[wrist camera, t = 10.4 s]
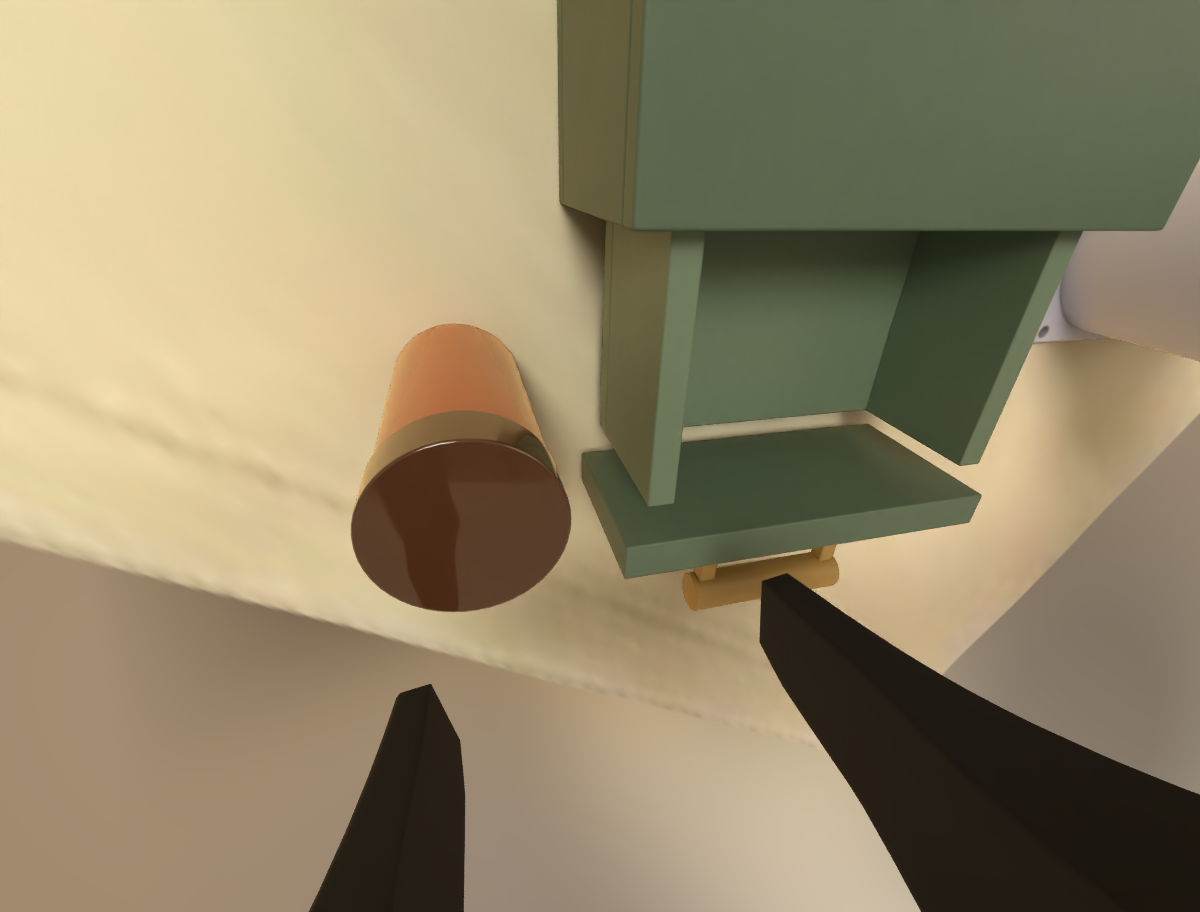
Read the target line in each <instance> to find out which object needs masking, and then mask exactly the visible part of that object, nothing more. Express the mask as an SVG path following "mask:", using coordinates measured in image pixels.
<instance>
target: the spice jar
mask: <svg viewBox="0 0 1200 912" xmlns="http://www.w3.org/2000/svg"><path fill="white" fill-rule="evenodd" d="M570 529H571V509H570V504H569V500H568V497H567V494H566V491H565V488H564V486H563V483H562V480H561V477H560V475H559V472H558V469H557V466H556V464H555V462H554V459H553V457H552V456H551V454H550V452H549V451H548V449H547V448H546V446H545V445H544V442H543V439H542V436H541V433H540V430H539V427H538V425H537V422H536V419H535V416H534V413H533V410H532V407H531V404H530V402H529V399H528V396H527V393H526V390H525V387H524V384H523V381H522V378H521V376H520V373H519V370H518V367H517V364H516V362H515V360H514V358H513V356H512V354H511V353H510V351H509V350H508V349H507V347H506V346H505V345H504V344H503V343H502V342H501V341H500V340H499V339H497V338H496V337H495V336H493V335H492V334H490V333H488V332H486V331H484V330H482V329H479V328H477V327H473V326H470V325H463V324H446V325H440V326H436V327H433V328H430V329H428V330H425V331H424V332H422V333H420V334H418V335H417V336H416V337H414V338H413V339H412V340H411V341H410V342H409V343H408V344H407V345H406V346H405V347H404V349H403V350H402V351H401V353H400V355H399V357H398V359H397V362H396V365H395V368H394V372H393V376H392V380H391V384H390V388H389V392H388V397H387V401H386V405H385V409H384V413H383V417H382V421H381V425H380V429H379V433H378V437H377V441H376V445H375V449H374V453H373V455H372V457H371V459H370V460H369V462H368V464H367V466H366V468H365V471H364V474H363V477H362V480H361V484H360V488H359V491H358V495H357V499H356V503H355V507H354V510H353V515H352V521H351V540H352V545H353V550H354V552H355V555H356V558H357V560H358V562H359V564H360V565H361V567H362V569H363V571H364V572H365V573H366V574H367V576H368V577H369V578H370V579H371V580H372V581H373V582H374V583H375V584H376V585H377V586H378V587H379V588H380V589H382V590H383V591H385V592H386V593H387V594H389V595H390V596H392V597H394V598H396V599H398V600H400V601H402V602H405V603H407V604H410V605H412V606H416V607H419V608H423V609H427V610H433V611H442V612H466V611H475V610H480V609H485V608H490V607H493V606H496V605H499V604H502V603H505V602H507V601H509V600H512V599H514V598H516V597H518V596H520V595H521V594H523V593H525V592H527V591H528V590H529V589H531V588H532V587H534V586H535V585H536V584H538V583H539V582H540V581H541V580H542V579H543V578H544V577H545V576H546V575H547V574H548V573H549V572H550V571H551V570H552V569H553V567H554V566H555V565H556V563H557V562H558V561H559V559H560V557H561V555H562V553H563V552H564V549H565V547H566V544H567V542H568V538H569V534H570Z"/></svg>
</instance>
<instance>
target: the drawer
mask: <svg viewBox="0 0 1200 912" xmlns="http://www.w3.org/2000/svg"><path fill="white" fill-rule="evenodd" d="M1082 232H1083V231H633V230H630V229H628V228H625V227H622V226H619V225H617V224H614V223H611V222H609V221H606V242H605V276H604V310H603V344H602V378H601V412H600V425H601V427H602V429H603V430H604V432H605V434H606V435H607V437H608V439H609V440H610V442H611V444H612V445H613V447H614V449H615V450H608V451H598V452H588V453H583V454H582V480H583V483H584V485H585V487H586V490H587V492H588V494H589V497H590V499H591V501H592V504H593V506H594V508H595V511H596V513H597V515H598V518H599V520H600V522H601V525H602V527H603V529H604V532H605V534H606V536H607V539H608V541H609V543H610V546H611V548H612V551H613V553H614V555H615V558H616V560H617V562H618V565H619V567H620V569H621V572H622V574H623V576H624V578H625V579H629V578H635V577H641V576H647V575H653V574H659V573H665V572H671V571H678V570H684V569H690V568H694V572H688V573H686V574H684V576H683V593H684V597H685V600H686V602H687V604H688V606H689V608H690V609H691V610H694V611H696V610H702V609H707V608H712V607H718V606H723V605H729V604H734V603H739V602H745V601H750V600H756V599H761V586H762V581H763V580H766V579H769V578H772V577H776V576H779V575H782V574H785V573H788V574H789V575H791V576H792V577H794V578H795V579H797V580H798V581H800V582H801V583H802V584H804V585H805V586H807V587H808V588H809V589H815V588H820V587H826V586H831V585H834V584H835V583H836V582H837V581H838V578H839V568H838V564H837V562H836V560H835V558H834V557H833V554H834V551H835V548H836V545H837V544H842V543H848V542H854V541H860V540H866V539H872V538H878V537H885V536H891V535H897V534H903V533H909V532H915V531H921V530H927V529H933V528H939V527H945V526H952V525H958V524H964V523H969V522H970V520H971V518H972V516H973V513H974V511H975V509H976V507H977V505H978V503H979V501H980V499H981V496H982V495H981V494H980V493H978V492H976V491H975V490H973V489H971V488H970V487H968V486H967V485H965V484H963V483H962V482H960V481H959V480H957V479H955V478H954V477H952V476H951V475H949V474H947V473H946V472H944V471H943V470H941V469H939V468H938V467H936V466H935V465H933V464H931V463H930V462H928V461H927V460H925V459H923V458H922V457H920V456H919V455H917V454H915V453H914V452H912V451H911V450H909V449H907V448H906V447H904V446H903V445H901V444H899V443H898V442H896V441H895V440H893V439H891V438H890V437H888V436H887V435H885V434H883V433H882V432H880V431H879V430H877V429H875V428H874V427H872V426H871V425H869V424H860V425H851V426H841V427H831V428H821V429H812V430H802V431H792V432H783V433H773V434H763V435H753V436H744V437H734V438H724V439H715V440H705V441H695V442H685V443H681V439H682V431H683V427H688V426H699V425H709V424H720V423H730V422H741V421H751V420H762V419H772V418H783V417H793V416H804V415H814V414H825V413H835V412H846V411H856V410H866V411H868V412H870V413H872V414H873V415H875V416H877V417H878V418H880V419H882V420H883V421H885V422H887V423H888V424H890V425H892V426H893V427H895V428H897V429H898V430H900V431H902V432H903V433H905V434H907V435H909V436H910V437H912V438H914V439H915V440H917V441H919V442H920V443H922V444H924V445H925V446H927V447H929V448H930V449H932V450H934V451H935V452H937V453H939V454H940V455H942V456H944V457H946V458H947V459H949V460H951V461H952V462H954V463H956V464H957V465H959V466H963V465H971V464H978V463H979V461H980V459H981V457H982V455H983V452H984V450H985V448H986V446H987V444H988V441H989V439H990V437H991V435H992V432H993V430H994V428H995V426H996V424H997V421H998V419H999V417H1000V415H1001V412H1002V410H1003V408H1004V406H1005V404H1006V401H1007V399H1008V397H1009V395H1010V392H1011V390H1012V388H1013V386H1014V384H1015V381H1016V379H1017V377H1018V375H1019V372H1020V370H1021V368H1022V366H1023V364H1024V361H1025V359H1026V357H1027V355H1028V352H1029V350H1030V348H1031V346H1032V344H1033V341H1034V339H1035V337H1036V335H1037V332H1038V330H1039V328H1040V326H1041V324H1042V321H1043V319H1044V317H1045V315H1046V312H1047V310H1048V308H1049V306H1050V304H1051V301H1052V299H1053V297H1054V295H1055V292H1056V290H1057V288H1058V286H1059V284H1060V281H1061V279H1062V277H1063V275H1064V272H1065V270H1066V268H1067V266H1068V264H1069V261H1070V259H1071V257H1072V255H1073V252H1074V250H1075V248H1076V246H1077V243H1078V241H1079V239H1080V237H1081V235H1082ZM805 549H812V550H811V552H808V553H802V554H796V555H790V556H784V557H778V558H772V559H766V560H760V561H754V562H748V563H742V564H736V565H730V566H724V567H718V568H716V567H717V564H720V563H726V562H732V561H738V560H745V559H751V558H757V557H763V556H769V555H775V554H781V553H787V552H793V551H799V550H805Z"/></svg>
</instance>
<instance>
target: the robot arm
mask: <svg viewBox="0 0 1200 912" xmlns="http://www.w3.org/2000/svg"><path fill="white" fill-rule="evenodd" d="M1100 338H1114V339H1118V340H1121V341H1125V342H1129V343H1133V344H1136V345H1140V346H1144V347H1148V348H1151V349H1155V350H1159V351H1163V352H1166V353H1170V354H1174V355H1178V356H1181V357H1185V358H1189V359H1193V360H1196V361H1200V160H1199V162H1198V163H1197V165H1196V167H1195V169H1194V171H1193V173H1192V175H1191V177H1190V179H1189V181H1188V183H1187V185H1186V187H1185V188H1184V190H1183V192H1182V194H1181V196H1180V198H1179V200H1178V202H1177V204H1176V206H1175V208H1174V210H1173V212H1172V213H1171V215H1170V217H1169V219H1168V221H1167V223H1166V225H1165V227H1164V228H1163V229H1162V230H1160V231H1083V232H1082V235H1081V237H1080V239H1079V241H1078V243H1077V246H1076V248H1075V250H1074V252H1073V255H1072V257H1071V259H1070V261H1069V264H1068V266H1067V268H1066V270H1065V272H1064V275H1063V277H1062V279H1061V281H1060V284H1059V286H1058V288H1057V290H1056V292H1055V295H1054V297H1053V299H1052V301H1051V304H1050V306H1049V308H1048V310H1047V312H1046V315H1045V317H1044V319H1043V321H1042V324H1041V326H1040V328H1039V330H1038V332H1037V335H1036V337H1035V339H1034V341H1033V343H1039V342H1054V341H1070V340H1085V339H1100ZM760 644H761V646H762V648H763V650H764V652H765V654H766V656H767V658H768V660H769V661H770V663H771V665H772V667H773V669H774V671H775V673H776V675H777V677H778V678H779V680H780V682H781V684H782V686H783V687H784V689H785V690H786V692H787V693H788V695H789V696H790V698H791V699H792V701H793V702H794V704H795V705H796V707H797V708H798V710H799V711H800V713H801V714H802V716H803V717H804V719H805V720H806V722H807V723H808V725H809V726H810V728H811V729H812V731H813V732H814V734H815V735H816V737H817V738H818V739H819V741H820V742H821V744H822V745H823V747H824V748H825V750H826V751H827V753H828V754H829V756H830V757H831V759H832V760H833V761H834V763H835V764H836V766H837V767H838V769H839V770H840V772H841V773H842V775H843V776H844V778H845V779H846V781H847V782H848V784H849V785H850V787H851V788H852V790H853V792H854V793H855V795H856V796H857V798H858V799H859V801H860V803H861V804H862V806H863V807H864V809H865V811H866V813H867V814H868V816H869V818H870V820H871V821H872V823H873V825H874V827H875V828H876V830H877V832H878V834H879V836H880V837H881V839H882V841H883V843H884V844H885V846H886V848H887V850H888V852H889V853H890V855H891V857H892V859H893V861H894V862H895V864H896V866H897V868H898V870H899V872H900V873H901V875H902V877H903V879H904V881H905V883H906V885H907V886H908V888H909V890H910V892H911V894H912V896H913V897H914V899H915V901H916V903H917V905H918V907H919V909H920V910H921V912H1200V795H1199V794H1197V793H1194V792H1191V791H1189V790H1186V789H1183V788H1181V787H1178V786H1176V785H1173V784H1171V783H1168V782H1166V781H1163V780H1161V779H1158V778H1156V777H1153V776H1151V775H1148V774H1146V773H1144V772H1141V771H1139V770H1136V769H1134V768H1131V767H1129V766H1127V765H1124V764H1122V763H1119V762H1117V761H1115V760H1112V759H1110V758H1108V757H1105V756H1103V755H1101V754H1098V753H1096V752H1094V751H1092V750H1090V749H1088V748H1085V747H1083V746H1081V745H1079V744H1077V743H1074V742H1072V741H1070V740H1068V739H1065V738H1063V737H1061V736H1059V735H1057V734H1055V733H1052V732H1050V731H1048V730H1046V729H1044V728H1041V727H1039V726H1037V725H1035V724H1033V723H1031V722H1029V721H1026V720H1025V719H1023V718H1021V717H1019V716H1017V715H1015V714H1013V713H1011V712H1009V711H1007V710H1005V709H1003V708H1001V707H999V706H997V705H995V704H993V703H991V702H989V701H988V700H986V699H984V698H982V697H980V696H978V695H976V694H974V693H972V692H971V691H969V690H967V689H965V688H963V687H962V686H960V685H958V684H956V683H955V682H953V681H951V680H949V679H947V678H946V677H944V676H942V675H941V674H939V673H937V672H936V671H934V670H932V669H931V668H929V667H927V666H926V665H924V664H922V663H921V662H919V661H917V660H916V659H914V658H912V657H911V656H909V655H907V654H906V653H904V652H903V651H901V650H899V649H898V648H896V647H895V646H893V645H892V644H890V643H889V642H887V641H885V640H884V639H882V638H881V637H879V636H878V635H876V634H875V633H873V632H872V631H870V630H869V629H867V628H866V627H864V626H863V625H861V624H860V623H858V622H857V621H855V620H854V619H852V618H851V617H849V616H848V615H846V614H845V613H844V612H842V611H841V610H839V609H838V608H836V607H835V606H833V605H832V604H831V603H829V602H828V601H826V600H825V599H824V598H822V597H821V596H819V595H818V594H816V593H815V592H814V591H812V590H811V589H809V588H808V587H807V586H805V585H804V584H802V583H801V582H800V581H798V580H797V579H795V578H794V577H792V576H791V575H789V574H788V573H785V574H782V575H779V576H776V577H772V578H769V579H766V580H763V581H762V586H761V615H760ZM464 853H465V789H464V776H463V765H462V755H461V744H460V739H459V737H458V736H457V734H456V732H455V730H454V728H453V726H452V724H451V722H450V720H449V718H448V716H447V714H446V712H445V710H444V708H443V706H442V704H441V702H440V700H439V699H438V697H437V695H436V693H435V691H434V689H433V687H432V685H431V684H429V685H425V686H422V687H419V688H415V689H412V690H409V691H406V692H403V693H400V694H399V695H398V697H397V698H396V701H395V704H394V707H393V710H392V713H391V716H390V718H389V721H388V724H387V727H386V730H385V733H384V736H383V739H382V741H381V744H380V747H379V749H378V752H377V755H376V758H375V760H374V763H373V765H372V768H371V771H370V773H369V776H368V778H367V781H366V783H365V786H364V789H363V791H362V793H361V796H360V798H359V801H358V803H357V805H356V808H355V810H354V813H353V815H352V818H351V820H350V823H349V825H348V827H347V830H346V832H345V834H344V837H343V839H342V841H341V843H340V845H339V848H338V850H337V852H336V854H335V857H334V859H333V861H332V863H331V865H330V868H329V870H328V872H327V874H326V876H325V879H324V881H323V883H322V885H321V887H320V890H319V892H318V894H317V896H316V898H315V900H314V902H313V904H312V906H311V908H310V910H309V912H464Z"/></svg>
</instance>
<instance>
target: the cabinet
mask: <svg viewBox="0 0 1200 912" xmlns="http://www.w3.org/2000/svg"><path fill="white" fill-rule="evenodd" d="M557 24H558V114H559V201H560V203H561V204H564V205H566V206H569V207H571V208H574V209H577V210H579V211H582V212H585V213H587V214H590V215H593V216H595V217H598V218H601V219H603V220H606V221H609V222H611V223H614V224H617V225H619V226H622V227H625V228H628V229H630V230H633V231H1160V230H1162V229H1163V228H1164V227H1165V225H1166V223H1167V221H1168V219H1169V217H1170V215H1171V213H1172V212H1173V210H1174V208H1175V206H1176V204H1177V202H1178V200H1179V198H1180V196H1181V194H1182V192H1183V190H1184V188H1185V187H1186V185H1187V183H1188V181H1189V179H1190V177H1191V175H1192V173H1193V171H1194V169H1195V167H1196V165H1197V163H1198V162H1199V160H1200V0H557Z"/></svg>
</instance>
